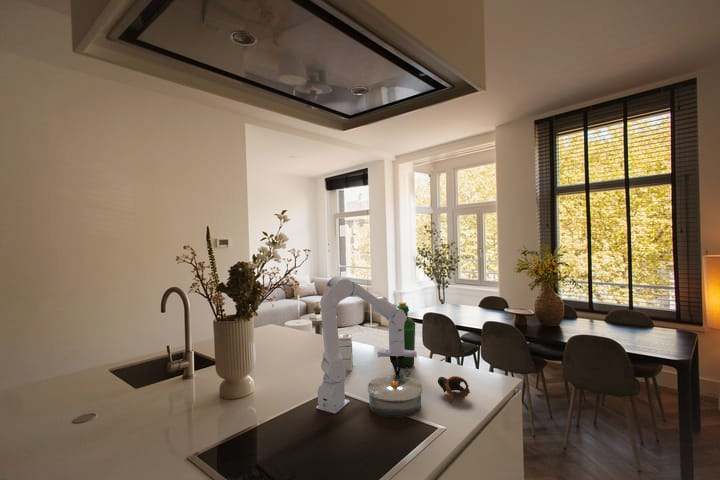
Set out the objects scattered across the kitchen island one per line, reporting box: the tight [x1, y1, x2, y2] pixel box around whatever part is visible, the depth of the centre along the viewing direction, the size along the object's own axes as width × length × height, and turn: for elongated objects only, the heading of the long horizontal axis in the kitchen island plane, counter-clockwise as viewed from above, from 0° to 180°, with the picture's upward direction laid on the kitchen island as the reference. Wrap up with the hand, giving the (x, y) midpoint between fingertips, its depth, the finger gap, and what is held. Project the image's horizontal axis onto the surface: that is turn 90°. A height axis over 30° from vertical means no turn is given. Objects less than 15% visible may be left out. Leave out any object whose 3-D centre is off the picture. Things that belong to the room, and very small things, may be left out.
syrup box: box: [338, 333, 354, 372], centre depth 152 cm, size 6×6×14 cm
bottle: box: [396, 302, 416, 370], centre depth 154 cm, size 11×11×28 cm
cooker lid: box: [367, 369, 423, 402], centre depth 121 cm, size 25×18×3 cm
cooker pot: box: [368, 393, 422, 419], centre depth 121 cm, size 24×18×5 cm
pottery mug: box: [437, 375, 471, 403], centre depth 123 cm, size 12×10×8 cm
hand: (397, 375), depth 129 cm, fingers closed
